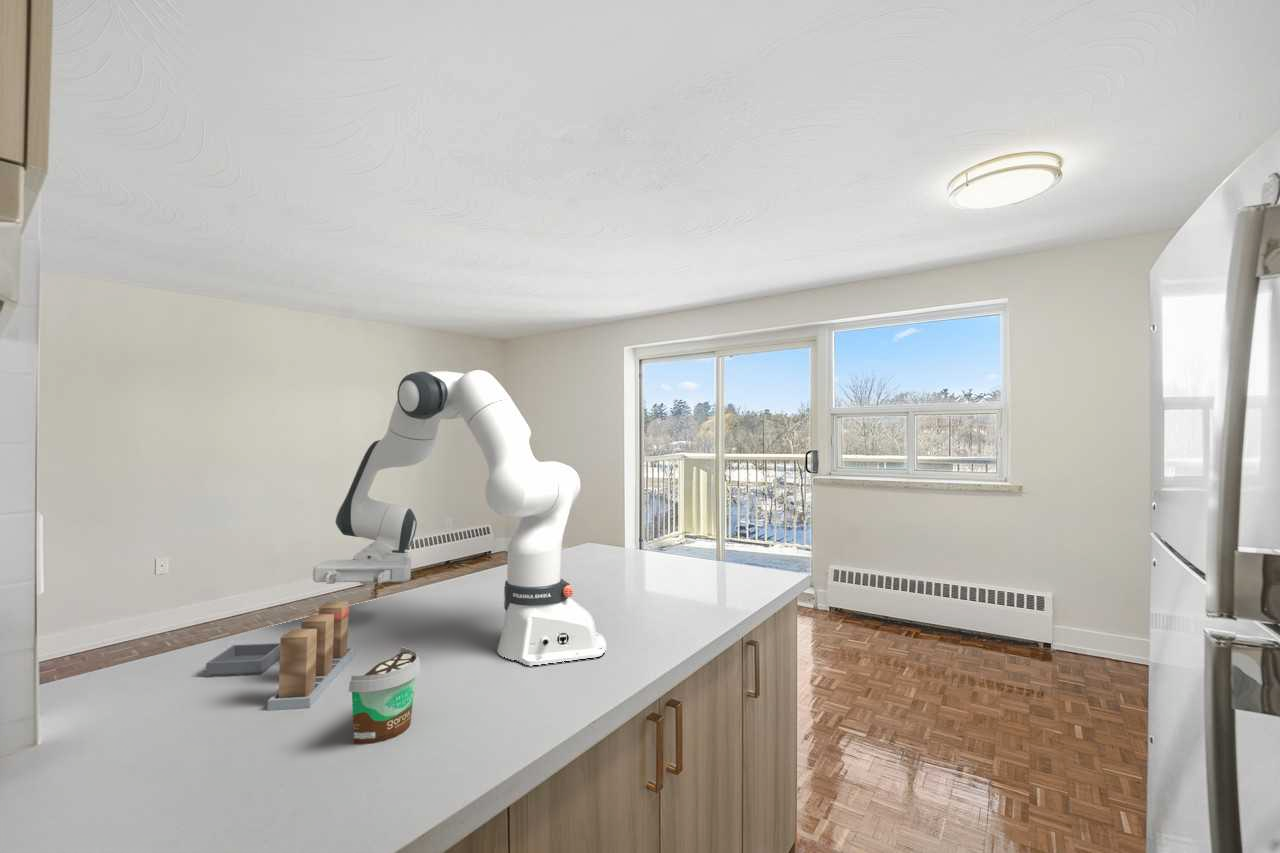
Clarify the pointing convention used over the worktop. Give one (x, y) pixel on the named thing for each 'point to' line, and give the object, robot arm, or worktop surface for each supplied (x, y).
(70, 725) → the worktop surface
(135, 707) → the worktop surface
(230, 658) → the tray
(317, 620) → the plain cartridge
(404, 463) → the robot arm
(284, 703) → the holder
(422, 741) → the worktop surface
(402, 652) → the food container
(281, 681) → the plain cartridge
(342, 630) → the block
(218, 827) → the worktop surface
